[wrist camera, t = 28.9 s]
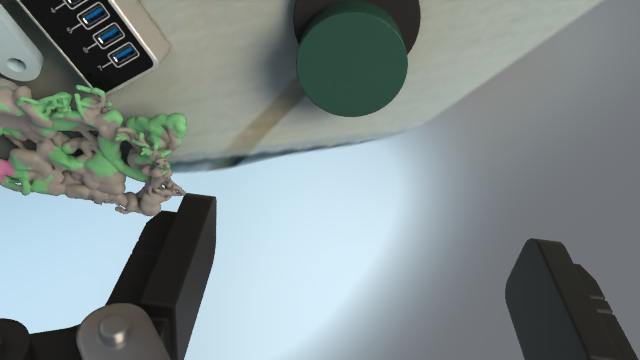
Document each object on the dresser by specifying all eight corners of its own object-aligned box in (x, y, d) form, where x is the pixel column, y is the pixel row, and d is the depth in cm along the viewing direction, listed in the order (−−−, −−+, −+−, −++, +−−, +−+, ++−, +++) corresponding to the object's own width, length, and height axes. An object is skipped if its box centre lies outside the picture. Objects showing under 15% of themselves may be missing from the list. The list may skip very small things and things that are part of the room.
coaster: (268, 14, 28) (267, 17, 28) (364, -79, 25) (364, -77, 25) (349, 98, 31) (349, 103, 30) (444, 24, 28) (446, 27, 27)
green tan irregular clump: (204, 159, 28) (161, 264, 35) (217, 101, 31) (176, 209, 38) (-203, 35, 22) (-151, 190, 30) (-134, -18, 26) (-102, 133, 33)
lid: (370, 117, 31) (372, 134, 29) (282, 76, 30) (278, 91, 28) (424, 30, 28) (429, 44, 26) (327, -20, 26) (326, -9, 25)
